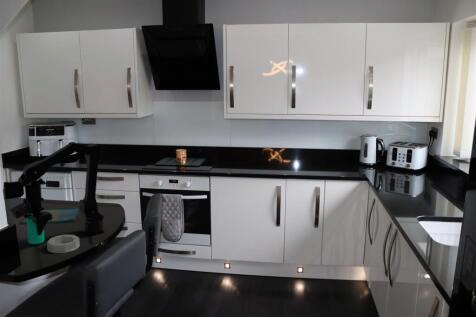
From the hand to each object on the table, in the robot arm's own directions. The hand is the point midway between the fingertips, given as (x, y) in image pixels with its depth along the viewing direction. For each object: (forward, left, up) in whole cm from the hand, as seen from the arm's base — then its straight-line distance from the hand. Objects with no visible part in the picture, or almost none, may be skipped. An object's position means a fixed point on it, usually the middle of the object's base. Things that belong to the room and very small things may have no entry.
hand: (35, 232), depth 161 cm
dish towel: (-19, -27, -5) cm, 33 cm away
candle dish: (-6, +11, -5) cm, 13 cm away
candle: (0, 0, -4) cm, 4 cm away
